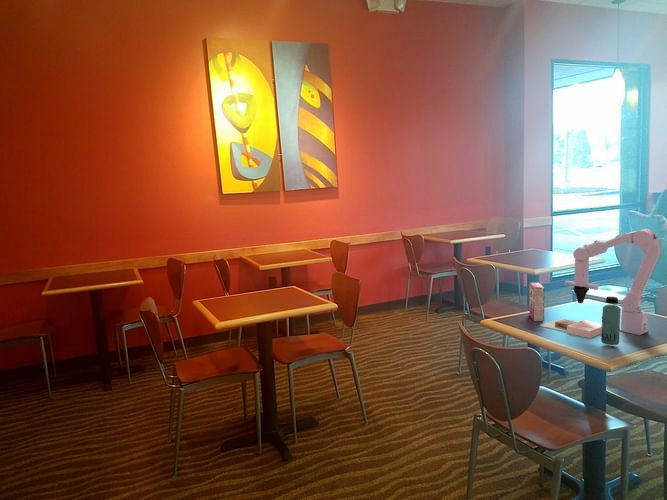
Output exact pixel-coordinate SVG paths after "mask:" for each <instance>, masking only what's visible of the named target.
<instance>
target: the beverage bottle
mask: <svg viewBox="0 0 667 500" xmlns="http://www.w3.org/2000/svg"><path fill="white" fill-rule="evenodd" d="M605 299H606V300H605V303H607V304H605V305H604V306H602V314H601V323H602V327H601V328H602V330H601V332H602V333H601V335H600V337H601V338H600V340H601V344H605V345H606V346H608V345H609V346H619V344H620V333H621V331H620V327H621V312H622V308H620V307H619V306H618V305H616V304H618V303H619V298H618V297H616V296H606V298H605Z"/></svg>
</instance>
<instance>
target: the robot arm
mask: <svg viewBox="0 0 667 500" xmlns="http://www.w3.org/2000/svg"><path fill="white" fill-rule="evenodd" d="M625 243H627V244H635V245H636V246H638V247H639V248H640V249H641V251H642V252H643V254H644V256H643V258H642V261H641V263H640V266H639V268H638V271H637V272H636V275H635V277H634V279H633V282H632V284H631V287H630V288H629V290H628V292H627V294H626V296H625V297H624V298H623V299H622V300H621V301H620V306H621V314H620V332H624V333H629V334H634V335H637V336H641V335H643V334H645V333H648V332H649V329H648V328H649V315H648V313H646V312H643V311H642V309H641V306H642V304H643V302H644V300H643V296H644V292H645V289H646V286H647V285H648V282H649V280H650V278H651V275H652V273H653V270H654V268H655V266H656V264H657V262H658V259H659V257H660V254H661V249H660V246H659V241H658V236H657V235H656V233H655V232H654V231H653V230H652V229H649V228H642V229H640V230H639V229H638V230H635V231H630V232H626V233H624V234H622V235H619V236H616V237H614V238H612V239H609V240H606V241H603V240H602V239H601V240H598V239H596V240H593V242H592V243H588V244H584V245H583V246H581V247H578V248H576V249H575V250H574V251H573V254H572V255H573V258H574V276H573V277H574V280H564V286H570V287H572V290H573V292H574V293H575V297H576V300H577V304H583V303H584V300H585V298H586V295H587V293H588V291H589V290H594V291H597V290H599V284H594V283H590V282H589V276H590V275H589V272H590V271H589V270H590V269H589V268H590V267H589V266H590V264H589V263H590V258H594V257H596V256H599V255H602V254H605V253H607V250H608V249H610V248H612V247H615V246H619V245H622V244H625Z"/></svg>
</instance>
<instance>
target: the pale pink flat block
mask: <svg viewBox="0 0 667 500" xmlns="http://www.w3.org/2000/svg"><path fill="white" fill-rule="evenodd" d="M576 322H577V323H574V324H571V325H568V326H567V332H566V334H570V335H576V336H579V337H583V338H588V339H591V338H594V337H596V336H598V335H602V332H601V330H602V328H601V327H602V322H596V321H593V320H592V321H591V320H588V319H582V320H580V321H576Z"/></svg>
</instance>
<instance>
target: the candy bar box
mask: <svg viewBox="0 0 667 500" xmlns="http://www.w3.org/2000/svg"><path fill="white" fill-rule="evenodd" d="M528 293H529V295H528V296H529V302H528V303H529V304H528V305H529V317H530V318H531V319H532V321H533V322H544V321H545V287H544V285H542V284H541V283H540V282H529V291H528Z"/></svg>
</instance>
